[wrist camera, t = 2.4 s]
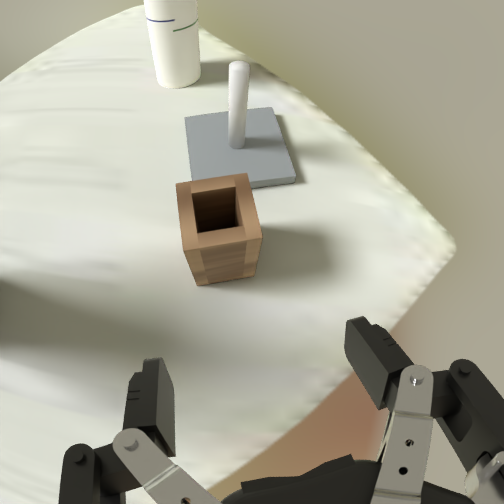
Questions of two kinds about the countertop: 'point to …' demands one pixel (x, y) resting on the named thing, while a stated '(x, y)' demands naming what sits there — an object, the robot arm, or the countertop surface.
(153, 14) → the cylindrical container
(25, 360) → the countertop surface
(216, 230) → the collar
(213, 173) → the post stand
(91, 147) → the countertop surface
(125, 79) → the countertop surface
